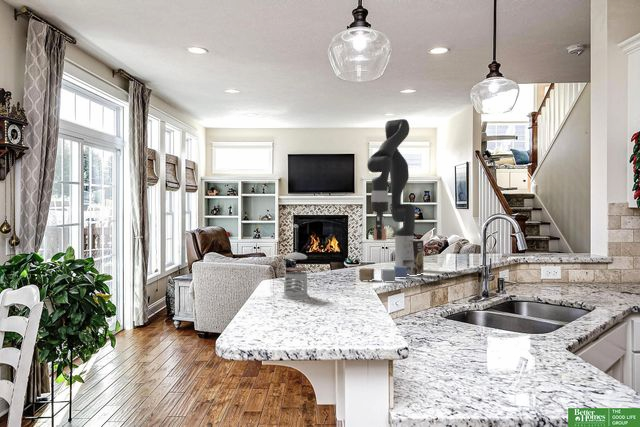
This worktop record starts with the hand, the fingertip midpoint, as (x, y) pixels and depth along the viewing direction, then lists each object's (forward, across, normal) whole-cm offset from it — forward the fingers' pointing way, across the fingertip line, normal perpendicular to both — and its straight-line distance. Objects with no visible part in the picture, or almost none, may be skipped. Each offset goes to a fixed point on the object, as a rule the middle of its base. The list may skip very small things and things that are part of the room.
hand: (379, 238), depth 201 cm
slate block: (+17, +11, +4) cm, 21 cm away
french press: (+17, +53, -25) cm, 61 cm away
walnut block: (+17, +11, -5) cm, 21 cm away
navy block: (+17, 0, +9) cm, 19 cm away
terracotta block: (0, 0, 0) cm, 0 cm away
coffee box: (+17, -9, +14) cm, 24 cm away
